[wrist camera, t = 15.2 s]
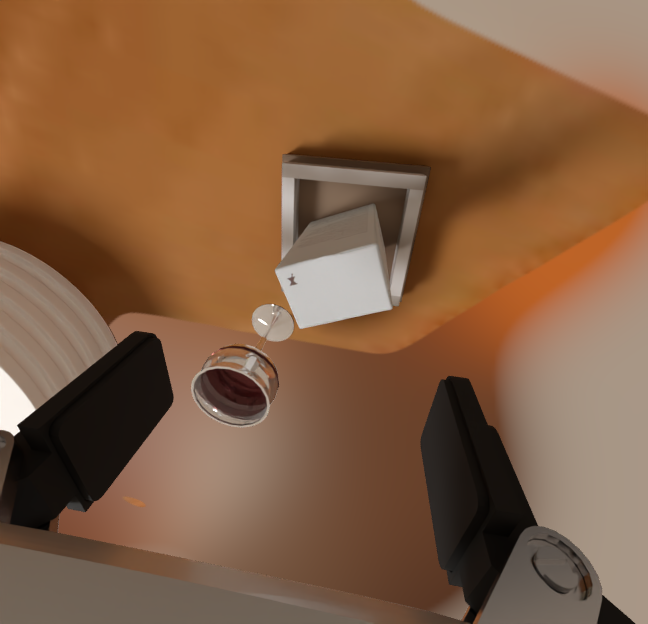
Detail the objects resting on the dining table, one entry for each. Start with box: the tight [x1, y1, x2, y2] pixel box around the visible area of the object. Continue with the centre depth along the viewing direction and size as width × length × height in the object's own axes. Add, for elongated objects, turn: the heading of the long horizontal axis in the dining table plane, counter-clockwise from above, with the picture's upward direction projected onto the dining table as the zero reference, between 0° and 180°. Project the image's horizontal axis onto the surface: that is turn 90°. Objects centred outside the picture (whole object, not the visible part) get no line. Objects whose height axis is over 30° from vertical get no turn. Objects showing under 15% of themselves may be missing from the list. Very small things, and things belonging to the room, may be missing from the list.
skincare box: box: [275, 203, 393, 329], centre depth 23 cm, size 6×4×12 cm
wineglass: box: [191, 304, 294, 427], centre depth 30 cm, size 7×7×12 cm
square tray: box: [282, 154, 431, 306], centre depth 27 cm, size 12×12×4 cm
